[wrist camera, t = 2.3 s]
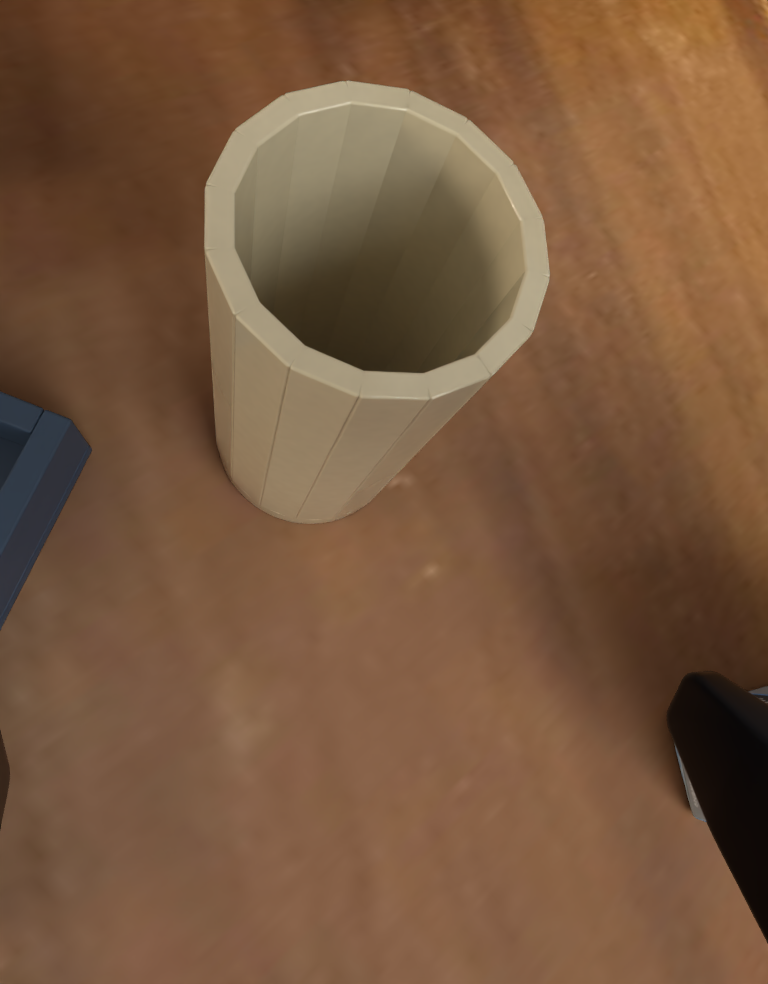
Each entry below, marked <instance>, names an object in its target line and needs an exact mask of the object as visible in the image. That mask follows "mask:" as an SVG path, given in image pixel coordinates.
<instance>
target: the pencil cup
mask: <svg viewBox="0 0 768 984" xmlns="http://www.w3.org/2000/svg"><path fill="white" fill-rule="evenodd" d="M204 254H205V270H206V286H207V302H208V318H209V334H210V350H211V366H212V382H213V399H214V415H215V431H216V443H217V447H218V450H219V455H220V458H221V461H222V464H223V467H224V469H225V471H226V473H227V475H228V477H229V479H230V480H231V482H232V483H233V484H234V486H235V487H236V489H237V490H238V491H239V492H240V493H241V494H242V495H243V496H244V497H245V498H246V499H247V500H248V501H249V502H251V503H252V504H253V505H254V506H256V507H257V508H259V509H261V510H262V511H264V512H266V513H268V514H270V515H272V516H274V517H277V518H280V519H283V520H286V521H290V522H296V523H305V524H316V523H325V522H330V521H335V520H338V519H341V518H344V517H346V516H348V515H350V514H352V513H354V512H356V511H358V510H359V509H361V508H362V507H363V506H365V505H366V504H368V503H369V502H370V501H371V500H372V499H373V498H374V497H375V496H376V495H377V494H378V493H379V492H380V491H381V490H382V489H383V488H384V487H385V486H386V485H387V484H388V483H389V482H390V481H391V480H392V479H393V478H394V477H395V476H396V475H397V474H398V473H399V472H400V470H401V469H402V468H403V467H404V466H405V465H406V464H407V463H408V462H409V461H410V460H411V459H412V458H413V457H414V456H415V455H416V454H417V453H418V452H419V451H420V450H421V449H422V448H423V447H424V446H425V445H426V444H427V443H428V442H429V441H430V440H431V439H432V438H433V437H434V436H435V435H436V434H437V433H438V432H439V431H440V429H441V428H442V427H443V426H444V425H445V424H446V423H447V422H448V421H449V420H450V419H451V418H452V417H453V416H454V415H455V414H456V413H457V412H458V411H459V410H460V409H461V408H462V407H463V406H464V405H465V404H466V403H467V402H468V401H469V400H470V399H471V398H472V397H473V396H474V395H475V394H476V393H477V392H478V391H479V390H480V389H481V387H482V386H483V385H484V384H485V383H486V382H487V381H488V380H489V379H490V378H491V377H492V376H493V375H494V374H495V373H496V372H497V371H498V370H499V369H500V368H501V367H502V366H503V365H504V364H505V363H506V361H507V360H508V359H509V358H510V357H511V356H512V355H513V354H514V353H515V352H516V351H517V350H518V349H519V348H520V347H521V346H522V345H523V344H524V342H525V341H526V340H527V339H528V338H529V337H530V336H531V333H532V332H533V331H534V328H535V325H536V322H537V318H538V315H539V312H540V309H541V306H542V303H543V299H544V296H545V293H546V290H547V287H548V284H549V276H550V270H549V261H548V253H547V244H546V235H545V226H544V220H543V219H542V214H541V212H540V210H539V208H538V206H537V204H536V203H535V201H534V199H533V197H532V195H531V193H530V191H529V189H528V187H527V185H526V183H525V181H524V179H523V178H522V176H521V174H520V172H519V170H518V168H517V166H516V165H515V164H514V162H513V161H512V160H511V159H510V158H509V157H508V156H507V155H506V154H505V153H504V152H503V151H502V150H501V149H500V148H499V147H498V146H497V145H496V144H495V143H494V142H493V141H491V140H490V139H489V138H488V137H487V136H486V135H485V134H484V133H483V132H482V131H481V130H480V129H479V128H478V127H477V126H476V125H475V124H474V123H473V122H472V121H471V120H467V118H466V117H465V116H463V115H461V114H459V113H457V112H454V111H452V110H450V109H448V108H446V107H444V106H442V105H440V104H438V103H436V102H434V101H432V100H430V99H428V98H426V97H424V96H422V95H420V94H418V93H416V92H414V91H410V92H409V89H405V88H398V87H391V86H384V85H377V84H370V83H362V82H355V81H346V82H345V81H340V82H335V83H330V84H326V85H321V86H317V87H312V88H307V89H303V90H298V91H293V92H289V93H286V94H285V95H281V96H280V97H279V98H277V99H276V100H274V101H273V102H272V103H270V104H269V105H268V106H266V107H265V108H263V109H262V110H261V111H259V112H258V113H256V114H255V115H254V116H252V117H251V118H250V119H248V120H247V121H245V122H244V123H243V124H241V125H240V126H238V127H237V128H236V130H235V131H234V132H233V133H232V134H231V136H230V138H229V140H228V142H227V144H226V146H225V148H224V150H223V151H222V153H221V155H220V157H219V159H218V161H217V163H216V165H215V167H214V169H213V171H212V173H211V174H210V176H209V178H208V180H207V182H206V187H205V207H204Z"/></svg>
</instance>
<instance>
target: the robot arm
mask: <svg viewBox="0 0 768 984" xmlns="http://www.w3.org/2000/svg"><path fill="white" fill-rule="evenodd" d="M667 724H668V728H669V731H670V733H671V736H672V738H673V741H674V743H675V746H676V748H677V751H678V753H679V756H680V758H681V761H682V763H683V766H684V768H685V771H686V773H687V775H688V778H689V780H690V783H691V785H692V788H693V790H694V793H695V795H696V798H697V800H698V803H699V805H700V808H701V810H702V813H703V815H704V817H705V819H706V822H707V824H708V826H709V829H710V831H711V833H712V835H713V837H714V839H715V841H716V843H717V845H718V847H719V849H720V851H721V853H722V855H723V857H724V859H725V861H726V863H727V865H728V867H729V869H730V871H731V873H732V875H733V877H734V879H735V881H736V882H737V884H738V886H739V888H740V890H741V892H742V894H743V896H744V898H745V900H746V902H747V904H748V906H749V908H750V910H751V912H752V914H753V916H754V918H755V919H756V921H757V923H758V925H759V927H760V929H761V931H762V933H763V935H764V937H765V939H766V941H767V943H768V704H767V703H765V702H764V701H762V700H761V699H759V698H757V697H756V696H754V695H753V694H751V693H749V692H748V691H746V690H745V689H743V688H742V687H740V686H738V685H737V684H735V683H734V682H732V681H730V680H729V679H727V678H726V677H724V676H723V675H721V674H719V673H717V672H713V671H703V672H691V673H688V674H687V675H685V676H684V677H683V679H682V681H681V683H680V685H679V687H678V689H677V691H676V693H675V696H674V698H673V700H672V702H671V704H670V706H669V708H668V711H667ZM9 780H10V768H9V763H8V759H7V755H6V751H5V747H4V743H3V739H2V735H1V731H0V829H1V823H2V818H3V813H4V808H5V803H6V798H7V793H8V788H9Z"/></svg>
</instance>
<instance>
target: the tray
mask: <svg viewBox="0 0 768 984" xmlns="http://www.w3.org/2000/svg"><path fill="white" fill-rule="evenodd" d="M91 451H92V448H91V447H90V446H89V445H88V443H87V442H86V440H85V439H84V438H83V436H82V435H81V433H80V432H79V430H78V429H77V427H76V426H75V425H74V423H73V422H72V420H71V419H69V418H66V417H64V416H61V415H59V414H56V413H54V412H51V411H49V410H45V411H44V409H43V408H41V407H39V406H36V405H34V404H31V403H28V402H26V401H23V400H21V399H18V398H16V397H13V396H11V395H8V394H6V393H3V392H1V391H0V630H1V628H2V626H3V624H4V622H5V620H6V618H7V616H8V614H9V612H10V610H11V608H12V606H13V604H14V602H15V600H16V598H17V596H18V594H19V592H20V590H21V588H22V586H23V584H24V582H25V581H26V579H27V577H28V575H29V573H30V571H31V569H32V567H33V565H34V563H35V561H36V559H37V557H38V555H39V553H40V551H41V549H42V547H43V545H44V543H45V541H46V539H47V537H48V535H49V533H50V532H51V530H52V528H53V526H54V524H55V522H56V520H57V518H58V516H59V514H60V512H61V510H62V508H63V506H64V504H65V502H66V500H67V498H68V496H69V494H70V492H71V490H72V488H73V486H74V484H75V483H76V481H77V479H78V477H79V475H80V473H81V471H82V469H83V467H84V465H85V463H86V461H87V459H88V457H89V455H90V453H91Z"/></svg>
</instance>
